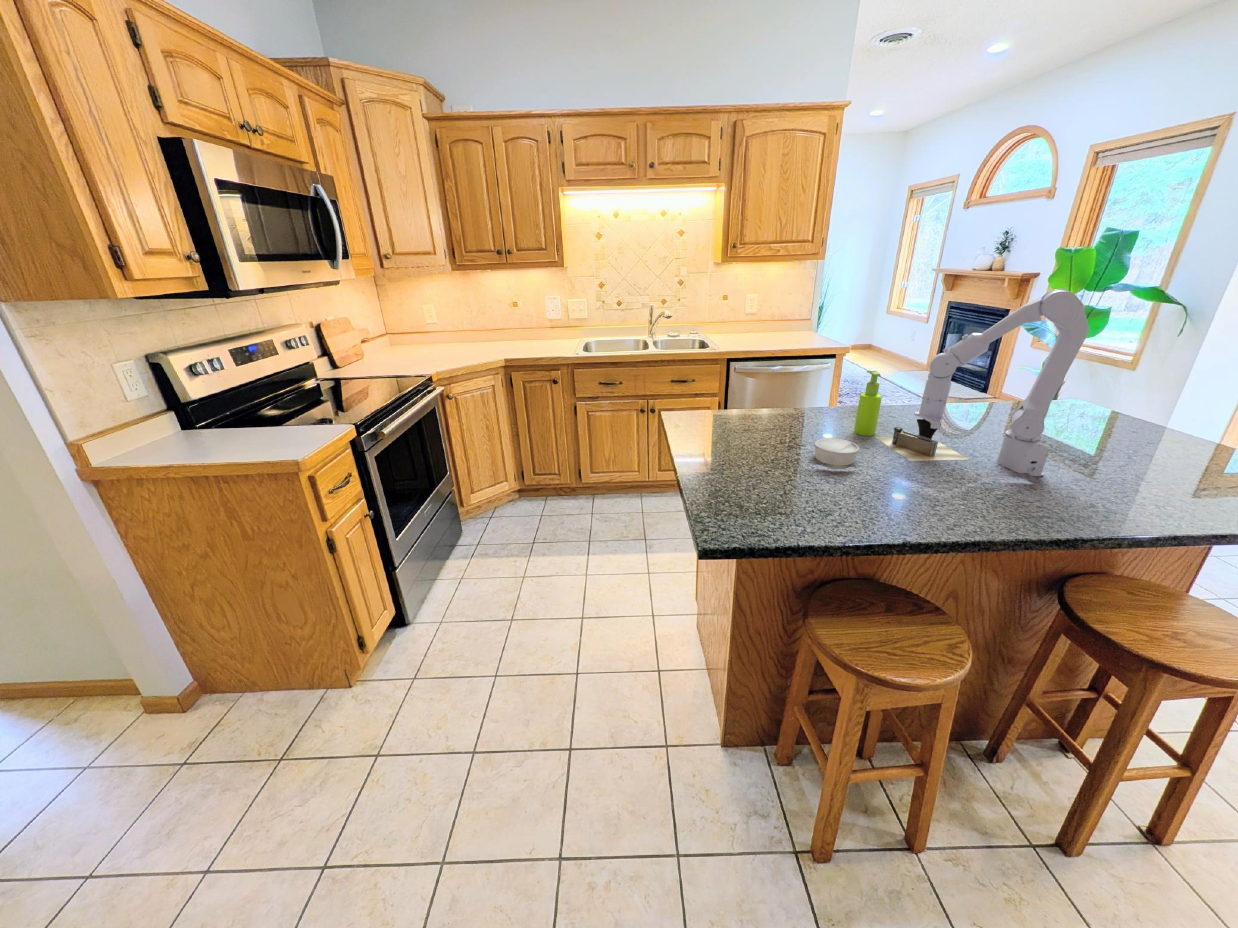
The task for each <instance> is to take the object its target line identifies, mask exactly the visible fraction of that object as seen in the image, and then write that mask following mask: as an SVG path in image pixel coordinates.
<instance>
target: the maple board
mask: <svg viewBox="0 0 1238 928" xmlns="http://www.w3.org/2000/svg"><path fill="white" fill-rule="evenodd" d="M874 438H876V439H877V440H878V441H880V442H881V443H882V444H883V445H886V446H887V447H888V448H890V449H892V450H893V451H894V452H896V453H897V454H899V455H901V456H902V457H903V458H905V459H906V460H908V461H909V462H917V461H919V462H920V461H921V462H923V461H927V462H929V461H961V460H962V461H963V460H965V461H966V460H970V458H969V457H966V456H964V455H963V454H961V453H959V452H957V451H956V450H953V449H952V448H950V447H948V446H947V445H945V444H942V442H940V441H938V445H937V449H936V453H935V455H932V456H931V457H928V456H925V455H922V454H919V453H916V452H913V451H910V450H907V449H904V448H901V447H898V446H896V445H894V444H892V440H893V436H875V437H874ZM932 439H933V440H935V439H934V438H932Z"/></svg>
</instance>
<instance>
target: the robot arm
mask: <svg viewBox="0 0 1238 928" xmlns="http://www.w3.org/2000/svg"><path fill="white" fill-rule="evenodd" d="M1041 316H1043V317H1045V318H1046V319H1047V320H1048V321H1050V322H1052V323H1053V325H1054V327H1055V328H1056V329H1057V331H1058V333H1059V335H1058V336H1057V339H1056V340H1055V342H1054V345H1053V346H1052V348H1051V350H1050V352H1049V354H1048V356H1047V358H1046V360H1045V362H1044V364H1043V366H1042V368H1041V369H1040V372H1039V373H1038V376H1037V377H1036V379H1035V382H1034V384H1033V385H1032V387H1031V389H1030V391H1029V392H1028V395H1027V396H1026V398H1025V399H1024V400H1023V402H1022V403H1021V404H1020V406H1019V407H1018V408H1017V409H1015V410H1014V411H1013V412H1012V414H1011V416H1010V423H1011V425H1010V426H1011V427H1010V428H1009V429H1008V430H1006V431H1005V432H1004V437H1003V440H1002V444H1001V446H1000V450H999V453H998V457H997V459H996V460H997V461H996V463H997V464H999V466H1002V467H1005V468H1007V469H1009V470H1012V471H1014V472H1015V473H1018V474H1029V475H1030V476H1031V477H1044V476H1045V473H1043V470H1044V467H1045V464H1046V462H1047V461H1046V460H1047V459H1048V455H1049V449H1048V447H1047V446H1046V445H1044V443H1043V442H1042V440H1041V439H1042V434H1043V433H1044V431H1045V419H1046V417H1047V415H1048V413H1049V409H1050V405H1051V403H1052V401H1053V399H1054V398H1055V396H1056V394H1057V392H1058V390H1059V388H1060V387H1061V385H1062V383H1063V381H1064V379H1065V377H1066V375H1067V373H1068V372H1069V370H1070V368H1071V367H1072V364H1073V363H1074V360H1075V358H1076V357H1077V356H1078V355H1077V354H1078V353H1079V351H1080V350H1081V348H1082V346H1083V344H1084V342H1085V341H1086V339H1087V336H1088V335H1089V332H1090V326H1089V323H1088V318H1087V314H1086V311H1085V305H1084V303H1083V302H1082V301H1081V300H1080V299H1079V297H1078V296H1077V295H1076V294H1074V293H1073V292H1071V291H1070V290H1067V289H1065V288H1056V289H1051V290H1050V291H1048V292H1046V293H1045V294H1043V295H1042V297H1041V296H1038V297H1037V298H1035V299H1032V300H1031V301H1029V302H1027V303H1025V304H1024V305H1022V306H1020V307H1018V308H1017V309H1016V310H1014V311H1013V312H1012V313H1010V314H1008V315H1007V316H1005V317H1004V318H1003V319H1001V320H1000V321H998V322H997V323H994V324H993V325H992V326H990V327H989V328H987V329H986V330H984V331H983V332H972V333H970V334H968V333H966V334H964V335H963V336H962V337H961V340H960V341H957V342H956V343H955V344H953V345H952V346H950V347H945V348H944V349H942V351H943V352H941V353H937V354H936V355H935V356H934V357H933V358H932V360H931V361H930V363H929V373H928V375H927V379H926V383H925V386H924V390H923V394H922V399H921V403H920V408H919V411H914V412H913V416H915V417H920V418H917V419H916V422H917V426H918V435H920V436H923V437H926V438H930V439H933V436H934V434H935V433H936V432H937V431H938V430H939V429H940V428H941V426H942V421H943V419H944V416H945V415H944V414H945V410H946V406H947V402H948V397H949V394H950V390H951V386H952V378H953V375H954V373H955V372H956V369H957V368H958V367H963V366H965V365H966V364H969V363H970V362H971V361H973V360H975V359H977V358H978V357H979V356H981V355H983V354H985V353H986V352H988V350H989V347H990V344H991V343H992V342H994V341H996V340H998V339H1000V338H1001V337H1003V336H1005V335H1007V334H1008V333H1010V332H1012V331H1014V330H1015V329H1017V328H1018V327H1020V326H1022V325H1024V324H1027V323H1035V322H1041V321H1043V320H1042V317H1041ZM921 418H922V419H921Z"/></svg>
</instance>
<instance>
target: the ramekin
mask: <svg viewBox="0 0 1238 928" xmlns="http://www.w3.org/2000/svg"><path fill="white" fill-rule="evenodd" d="M813 447H814V456H815V457H814V458H815V459H816V460H817V461H819V462H821V463H823V464H819V465H821V466H822V467H825V468H830V469H834V470H835V469H836V470H845V469H849V468H850V467H851V465H853V464H854V463H855V461H856V459H857V456H858V454H859V452H860V447H859V445H858V444H856V443H855V442H853V441H850V440H846V439H841V438H834V437H828V438H825V437H824V438H820V439H817V440H815V441H814V445H813Z"/></svg>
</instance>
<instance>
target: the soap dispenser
mask: <svg viewBox="0 0 1238 928" xmlns="http://www.w3.org/2000/svg"><path fill="white" fill-rule="evenodd" d="M866 373H867V374H868V373H869V374H870V375H871V377H870V381H869V382H867V383H866V387H865V392H862V393H860V394H859V395H860V396H859V401H858V406H857V413H856V416H855V417H856V419H855V423H854V431H853V432H854V433H855V434H856V435H860V436H874V435H876V429H877V424H878V418H879V414H880V409H881V408H880V407H881V403H882V399H883V396H882V395H881V394H879V389H880V383H879V382H877V381H878V377H880V376H881V373H880V372H879V371H877V370H867V371H866Z"/></svg>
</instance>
